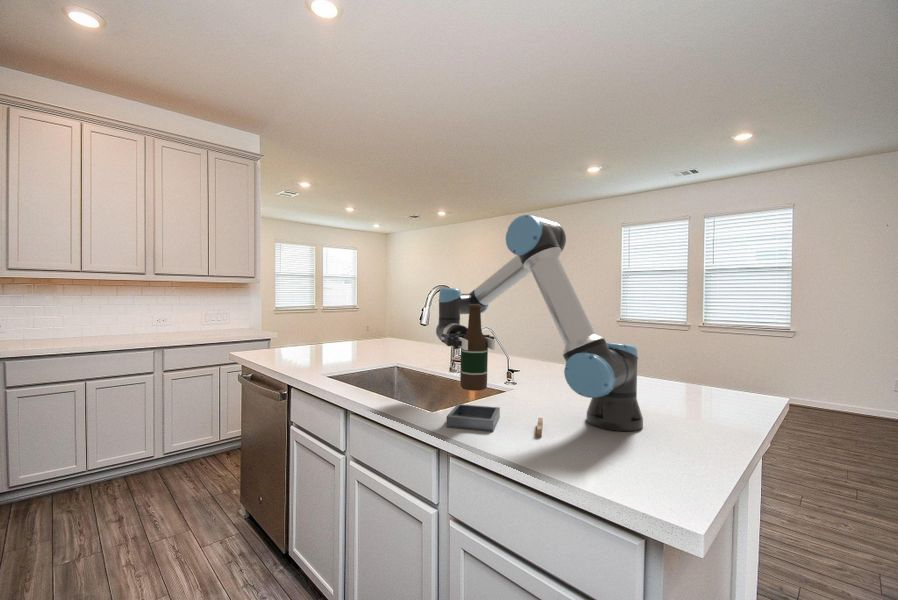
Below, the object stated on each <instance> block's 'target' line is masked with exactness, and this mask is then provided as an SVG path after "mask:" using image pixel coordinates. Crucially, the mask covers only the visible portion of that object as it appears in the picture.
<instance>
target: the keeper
mask: <svg viewBox="0 0 898 600" xmlns="http://www.w3.org/2000/svg"><path fill="white" fill-rule="evenodd" d="M500 415H501V407H499V406H487V405H474V404H473V405H471V404H462V403H457V404H456V405H455V406H454V407H453V408H452V410H451V411H450V412H449V413H448V414H447V415H446V423H445V425H446V426H445V427H446V428H452V429H460V430H469V431H470V430H471V431H481V432H491V433H493V432H494V431H495V429H496V427H497V424H498V422H499V419H500Z"/></svg>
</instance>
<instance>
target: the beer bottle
mask: <svg viewBox="0 0 898 600" xmlns="http://www.w3.org/2000/svg"><path fill="white" fill-rule="evenodd" d="M468 308H469V314H468V322H467V323H468V324H467V328H468V330H467V333H466V334H465V336H464V337H463V338H464V339H466V340H468V350H464V349H462V348H460V373H459V375H460V387H461V388H462V389H463V390H464V391H465V390H466V391H471V392H473V391H474V392H475V391H484V390H485V389H487V388H488V362H489V361H488V360H489V358H488V350H489V348H488V346H487V341H486V338H485V337H484V335H485V334H484V333H483V331H482V330H483V329H482V318H481V317H482V315H481V314H482V313H481V311H480V309H481V305H480V304H470V305H469V307H468ZM483 334H484V335H483Z"/></svg>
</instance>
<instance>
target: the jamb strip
mask: <svg viewBox="0 0 898 600" xmlns="http://www.w3.org/2000/svg"><path fill="white" fill-rule="evenodd" d="M543 422H544V419H543V417H538V419H537V425H536V438H542V434H543Z"/></svg>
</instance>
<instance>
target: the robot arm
mask: <svg viewBox="0 0 898 600" xmlns="http://www.w3.org/2000/svg"><path fill="white" fill-rule="evenodd" d="M566 242H567V235H566V233H565V230H564V228H563V226H562V225H560V224H559V223H558V222H556V221H555V220H554V221H553V220H549V219H546V218H542V217H540V216H537V215H534V214H523V215H522V214H521V215H519V216H517V217H516V218H515V219H513V220H512V221H511V223H510V224H509V225H508V227H507V231H506V233H505V244H506V246H507V247H506V248H507V249H508V251H510V252H511V253H512V254H514V255H515V256H514V257H513V258H511V259H510V260H509V261H508V262H506V263H505V264H504V265H503V266H502V267H500V268H499V269H498V270H497V271H495V273H493V274H491V276H489V277H488V278H487V279H485V280H484V281H483V282H482V283H481V284H479V285H478V286H477V287H475V288H474V290H472V291H471V292H469V293H461V289H460V288H456V287H454V288H450V287H446V288H445V287H442V288H441V289H439V295H438V324H437V325H436V329H435V335H436V337H437V338H438V339H439V340H440V341H441V343H443V344H445V345H446V346H447V347H452V348H453V349H454V350H457V349H461V348H462V349H464V350H468V340H466V339H464V338H463V337H464V336H465V334H466V333H467V330H468V326H465V325H463V324H461V315H469V308H468V307H469V305H470V304H480V305H481V309H480V311H481V314H482V313H485V312H486V311H487V310H488V308H489V305H490V304H491V303H492V302H493V301H495V300H496V299H498V298H499V297H500V296H501V295H503V294H504V293H506V292H507V291H508V290H509V289H510V288H512V287H514V286H515V285H516V284H518V283H519V282H520V281H522V280H523V279H524V278H526V277H527V276H528V275H530V274H532V276H533V278H534V280H535V282H536V284H537V286H538V287H537V288H538V289H539V291H540V294H541V296H542V298H543V300H544V302H545V306H546V307H547V309H548V311H549V314H550V316H551V318H552V321H553V322H554V325H555V326H556V329H557V332H558V333H559V336H560V337H561V341H562V342H563V344H564V348H563V352H562V357H563V359H564V360H565V367H564V371H563V373H564V378H565V381H566V383H567V384H568V386H569V387H570V389H571V390H572V391H573V392H575V393H576V394H578V395H579V396H581V397H583V398H589V399H590V402H589V405H588V408H587V409H586V417H585V418H586V422H588V423H589V424H590V425H593V426H594V427H597V428H601V429H605V430H609V431H617V432H633V431H634V432H635V431H639V430H641V429H643V427H644V417H643V414H642V411H641V408H640V405H639V401H638V399H637V398H638V396H637V395H638V393H637V390H638V360H639V356H638V349H637V347H636V346H635V345H632V344H623V343H622V344H621V343H613V342H612V343H611V342H606V339H605V337H603V336H600V335H599V334H596V333H595V331H594V328H593V326H592V324H591V322H590V320H589V318H588V315H587V314H586V311H585V309H584V307H583V305H582V304H581V302H580V299H579V297H578V294H577V293H576V291H575V289H574V287H573V284H572V282H571V280H570V278H569V276H568V273H567V272H566V270H565V268H564V266H563V264H562V262H561V259H560V256H561V253H562V252H563V251H564V248H565V247H566ZM483 335H484V337H485V338H486V341H487V346H488V350H495V349H496V348H495V347H496V344H495V342H496V341H495V336H490V334H484V333H483Z"/></svg>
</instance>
